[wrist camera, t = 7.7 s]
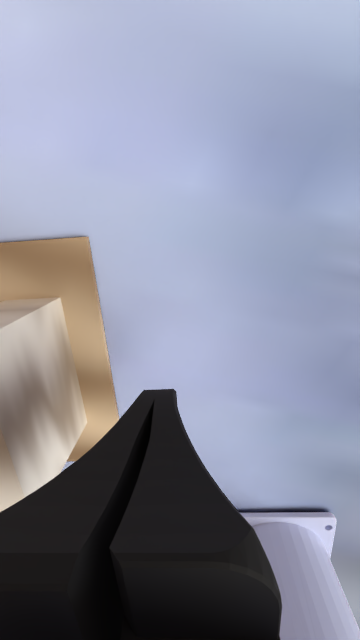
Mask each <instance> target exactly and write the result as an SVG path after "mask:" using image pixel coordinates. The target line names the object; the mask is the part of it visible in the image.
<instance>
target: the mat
mask: <svg viewBox="0 0 360 640" xmlns="http://www.w3.org/2000/svg"><path fill="white" fill-rule="evenodd" d="M55 297H60V298H61V303H62V307H63V312H64V317H65V321H66V326H67V330H68V335H69V340H70V344H71V349H72V354H73V358H74V363H75V367H76V372H77V377H78V381H79V386H80V391H81V395H82V400H83V404H84V409H85V414H86V418H87V424H86V426H85V428H84V430H83V431H82V433H81V435H80V437H79V439H78V441H77V443H76V444H75V446H74V448H73V450H72V452H71V454H70V456H69V458H68V459H67V461H77V460H78V459H79V458H81V457H82V456H83V455H84V454H85V453H86V452H88V451H89V450H90V449H91V448H92V447H93V446H94V445H95V444H96V443H97V442H98V441H99V440H100V439H101V438H102V437H103V436H104V435H105V434H106V433H107V432H108V431H109V430H110V429H111V428H112V427H113V426H114V425H115V424H116V423H117V422H118V420H119V415H118V409H117V403H116V397H115V391H114V385H113V379H112V373H111V367H110V361H109V355H108V350H107V344H106V338H105V332H104V326H103V320H102V314H101V308H100V302H99V296H98V290H97V284H96V278H95V272H94V267H93V261H92V255H91V249H90V243H89V237H76V238H62V239H48V240H33V241H19V242H4V243H0V302H2V301H5V300H20V299H38V298H55Z"/></svg>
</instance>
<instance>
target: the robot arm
mask: <svg viewBox="0 0 360 640" xmlns="http://www.w3.org/2000/svg"><path fill="white" fill-rule="evenodd" d="M336 523H337V520H336V518H335V516H334V515H333V514H332V513H330V512H274V513H239V512H238V510H237V509H236V508H235V507H234V506H233V505H232V503H231V502H230V501H229V500H228V498H227V497H226V496H225V494H224V493H223V492H222V491H221V489H220V488H219V487H218V485H217V484H216V482H215V481H214V479H213V478H212V477H211V475H210V474H209V472H208V471H207V469H206V468H205V466H204V465H203V463H202V461H201V460H200V458H199V456H198V455H197V453H196V451H195V449H194V447H193V445H192V443H191V441H190V439H189V437H188V435H187V433H186V430H185V428H184V425H183V423H182V420H181V417H180V414H179V411H178V407H177V396H176V391H175V390H174V389H162V390H144V391H143V392H142V393H141V394H140V395H139V396H138V398H137V399H136V400H135V401H134V403H133V404H132V405H131V406H130V408H129V409H128V410H127V411H126V412H125V414H124V415H123V416H122V417H121V418H120V419H119V420H118V422H117V423H116V424H115V425H114V426H113V427H112V428H111V429H110V430H109V431H108V432H107V433H106V434H105V435H104V436H103V437H102V438H101V439H100V440H99V441H98V442H97V443H96V444H95V445H94V446H93V447H92V448H91V449H90V450H89V451H88V452H86V453H85V454H84V455H83V456H82V457H81V458H79V459H78V460H77V461H76V462H74V463H73V464H72V465H70V466H69V467H68V468H66V469H65V470H64V471H62V472H61V473H60V474H59V475H57V476H56V477H55V478H53V479H52V480H50V481H49V482H48V483H46V484H45V485H43V486H42V487H40V488H39V489H37V490H36V491H34V492H33V493H31V494H29V495H28V496H26V497H25V498H23V499H22V500H20V501H18V502H17V503H15V504H13V505H12V506H10V507H8V508H7V509H5V510H3V511H1V512H0V640H360V630H359V627H358V625H357V622H356V620H355V618H354V615H353V613H352V611H351V608H350V606H349V603H348V601H347V599H346V596H345V594H344V591H343V589H342V587H341V584H340V582H339V580H338V577H337V575H336V572H335V570H334V568H333V565H332V563H331V560H330V557H331V551H332V546H333V540H334V534H335V529H336Z"/></svg>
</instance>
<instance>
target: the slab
mask: <svg viewBox="0 0 360 640" xmlns="http://www.w3.org/2000/svg"><path fill="white" fill-rule="evenodd" d="M86 424H87V418H86V414H85V409H84V404H83V400H82V395H81V391H80V386H79V381H78V377H77V372H76V367H75V363H74V358H73V354H72V349H71V344H70V340H69V335H68V330H67V326H66V321H65V317H64V312H63V307H62V303H61V298H60V297H55V298H38V299H20V300H5V301H2V302H0V512H1V511H3V510H5V509H7V508H8V507H10V506H12V505H13V504H15V503H17V502H18V501H20V500H22V499H23V498H25V497H26V496H28V495H29V494H31V493H33V492H34V491H36V490H37V489H39V488H40V487H42V486H43V485H45V484H46V483H48V482H49V481H50V480H52V479H53V478H55V477H56V476H57V475H59V474H60V473H61V471H62V469H63V467H64V465H65V463H66V461H67V459H68V458H69V456H70V454H71V452H72V450H73V448H74V446H75V444H76V443H77V441H78V439H79V437H80V435H81V433H82V431H83V430H84V428H85V426H86Z"/></svg>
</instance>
